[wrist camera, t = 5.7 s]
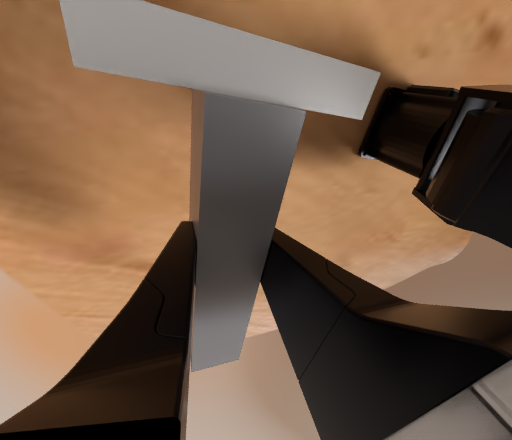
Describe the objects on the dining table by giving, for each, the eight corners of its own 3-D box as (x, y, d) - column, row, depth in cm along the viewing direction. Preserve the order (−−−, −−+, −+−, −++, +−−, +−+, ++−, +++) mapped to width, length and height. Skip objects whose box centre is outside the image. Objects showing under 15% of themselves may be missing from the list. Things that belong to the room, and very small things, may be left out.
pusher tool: (260, 304, 15) (277, 349, 12) (144, 324, 12) (138, 386, 10) (329, 70, 8) (398, 73, 5) (94, 6, 5) (34, -41, 3)
